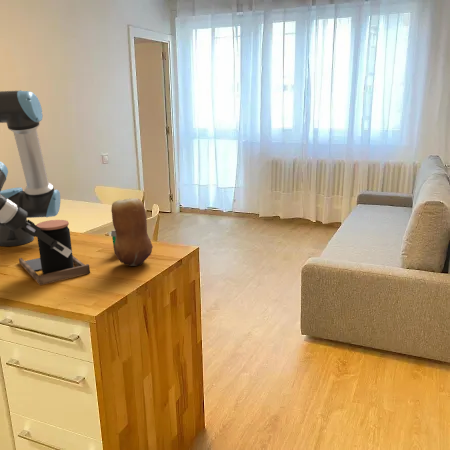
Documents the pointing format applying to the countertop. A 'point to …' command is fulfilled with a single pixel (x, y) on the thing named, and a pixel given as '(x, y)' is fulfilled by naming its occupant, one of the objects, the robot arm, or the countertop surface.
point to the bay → (57, 272)
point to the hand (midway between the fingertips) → (64, 250)
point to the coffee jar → (52, 257)
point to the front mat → (35, 264)
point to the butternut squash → (131, 231)
